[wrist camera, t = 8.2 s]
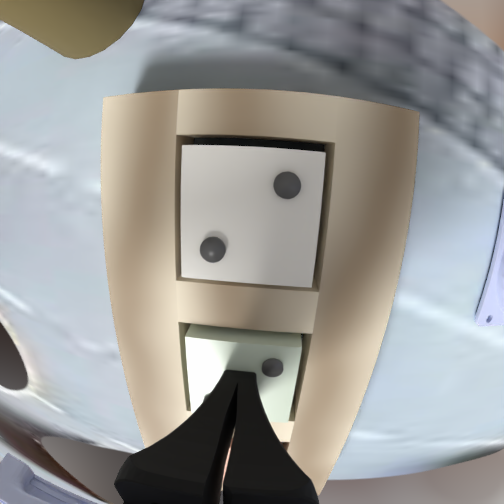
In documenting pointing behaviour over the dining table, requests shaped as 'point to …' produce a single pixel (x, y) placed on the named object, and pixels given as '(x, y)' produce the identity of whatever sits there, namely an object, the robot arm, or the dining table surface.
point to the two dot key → (250, 213)
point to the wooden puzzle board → (248, 294)
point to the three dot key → (244, 363)
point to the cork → (72, 22)
